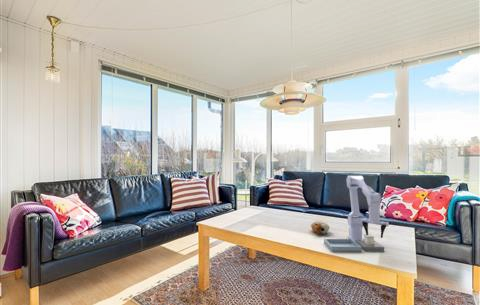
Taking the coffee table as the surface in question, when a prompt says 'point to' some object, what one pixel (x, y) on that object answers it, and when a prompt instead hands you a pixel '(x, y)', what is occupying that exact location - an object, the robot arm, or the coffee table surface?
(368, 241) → the fuse
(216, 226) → the coffee table surface
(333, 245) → the tray
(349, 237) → the robot arm
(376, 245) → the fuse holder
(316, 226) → the nautilus
